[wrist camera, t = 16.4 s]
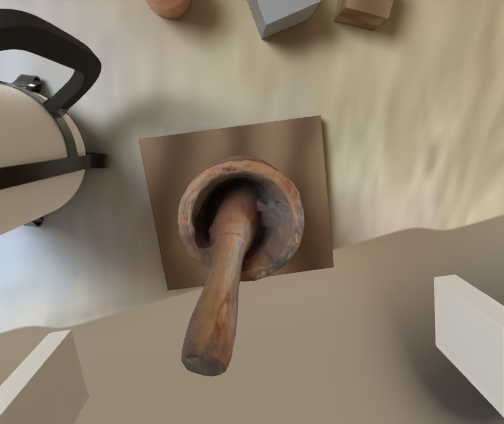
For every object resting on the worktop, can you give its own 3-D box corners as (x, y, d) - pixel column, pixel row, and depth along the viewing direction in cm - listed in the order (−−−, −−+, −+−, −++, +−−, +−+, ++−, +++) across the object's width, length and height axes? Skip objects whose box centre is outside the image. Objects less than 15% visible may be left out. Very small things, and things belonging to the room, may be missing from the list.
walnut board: (317, 116, 38) (320, 115, 36) (330, 262, 41) (333, 267, 40) (142, 139, 37) (138, 139, 36) (170, 284, 41) (168, 290, 39)
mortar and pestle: (282, 258, 39) (327, 384, 20) (201, 261, 39) (165, 392, 19) (281, 148, 37) (331, 168, 17) (194, 150, 36) (145, 173, 17)
